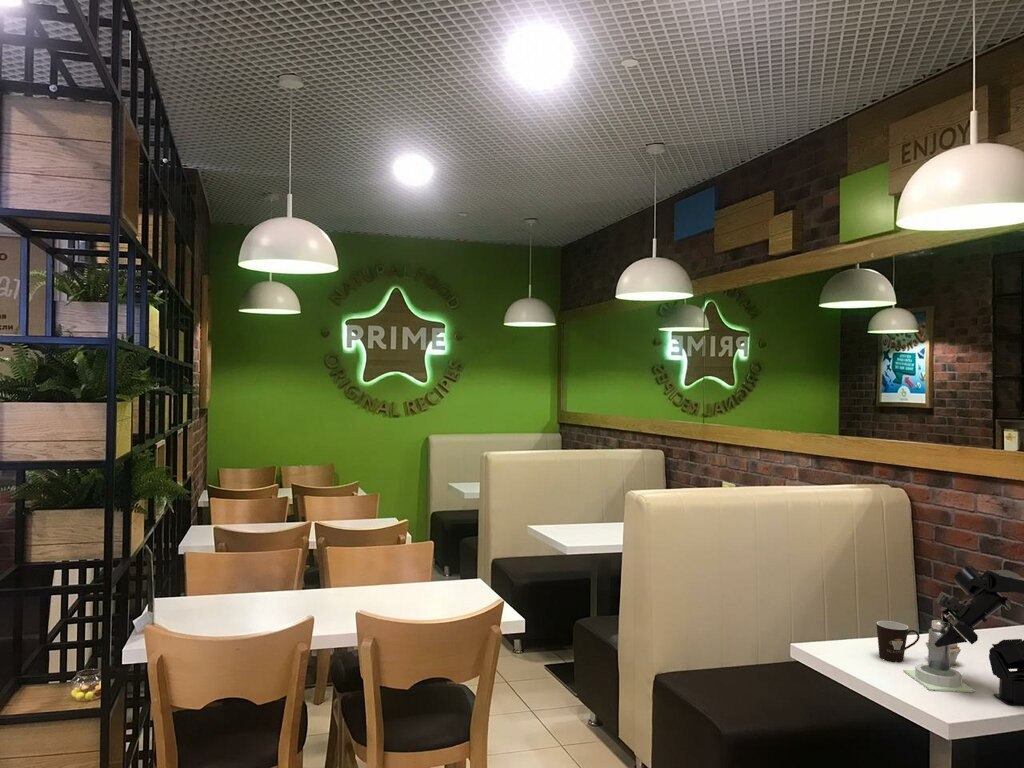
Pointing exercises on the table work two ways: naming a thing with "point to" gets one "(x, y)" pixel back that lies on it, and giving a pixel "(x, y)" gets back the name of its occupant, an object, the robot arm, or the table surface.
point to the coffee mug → (893, 640)
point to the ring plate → (931, 687)
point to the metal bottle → (938, 655)
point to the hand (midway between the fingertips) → (933, 642)
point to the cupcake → (953, 652)
